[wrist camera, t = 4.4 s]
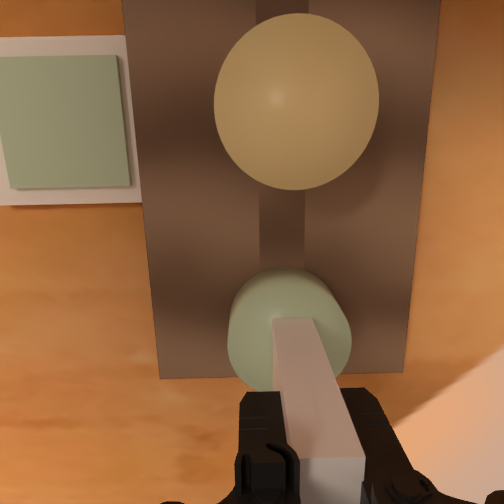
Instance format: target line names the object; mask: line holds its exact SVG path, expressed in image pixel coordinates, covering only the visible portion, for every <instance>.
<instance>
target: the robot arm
mask: <svg viewBox="0 0 504 504" xmlns="http://www.w3.org/2000/svg"><path fill="white" fill-rule="evenodd" d="M272 365H273V390H274V391H263V392H247V393H246V394H245V396H244V397H243V399H242V401H241V402H240V410H239V447H238V453H237V456H236V460H235V463H234V466H235V486H234V488H233V490H232V491H231V492H230V494H229V495H228V496H227V497H226V498H225V499H223V500H222V501H221V502H219V503H217V504H476V503H472V502H468V501H464V500H460V499H457V498H453V497H450V496H447V495H444V494H442V493H441V492H439V491H438V490H437V489H436V487H435V486H434V485H433V484H432V482H431V481H430V480H429V479H428V478H426V477H425V476H424V475H422V474H421V473H420V472H418V471H416V470H414V469H413V467H412V465H411V463H410V462H409V460H408V458H407V456H406V454H405V452H404V450H403V448H402V446H401V444H400V443H399V440H398V438H397V436H396V435H395V433H394V431H393V429H392V427H391V425H390V424H389V421H388V419H387V417H386V415H385V414H384V411H383V409H382V408H381V406H380V404H379V402H378V400H377V398H376V397H374V396H373V395H372V394H371V393H370V392H369V391H368V390H366V389H365V388H339V386H338V384H337V381H336V378H335V376H334V373H333V371H332V368H331V365H330V363H329V360H328V358H327V355H326V352H325V350H324V347H323V345H322V342H321V339H320V337H319V334H318V332H317V329H316V326H315V324H314V321H313V319H312V317H310V318H272ZM161 504H184V503H181V502H175V501H166V502H163V503H161ZM485 504H504V490H498V491H494V492H492V493H491V494H489V495H488V496H487V498H486V501H485Z"/></svg>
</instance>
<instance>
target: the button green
mask: <svg viewBox="0 0 504 504" xmlns="http://www.w3.org/2000/svg"><path fill="white" fill-rule="evenodd" d="M310 317H312V319H313V321H314V324H315V326H316V329H317V332H318V334H319V337H320V339H321V342H322V345H323V347H324V350H325V352H326V355H327V358H328V360H329V363H330V365H331V368H332V371H333V373H334V376H335V378H337V377H338V376H339V374H340V373H341V372H342V370H343V369H344V367H345V365H346V363H347V361H348V359H349V355H350V352H351V345H352V337H351V330H350V327H349V324H348V321H347V319H346V317H345V315H344V313H343V312H342V310H341V308H340V307H339V305H338V303H337V301H336V300H335V298H334V296H333V295H332V293H331V291H330V290H329V288H328V287H327V286H326V285H325V284H324V282H323V281H321V280H320V279H319V278H318V277H316V276H315V275H313V274H311V273H309V272H307V271H305V270H301V269H298V268H292V267H278V268H272V269H268V270H265V271H263V272H261V273H259V274H256V275H255V276H253V277H252V278H250V279H249V280H248V281H247V282H246V283H245V284H244V285H243V286H242V287H241V288H240V289H239V291H238V292H237V294H236V296H235V298H234V300H233V303H232V306H231V311H230V319H229V330H228V342H227V349H228V356H229V359H230V362H231V365H232V367H233V369H234V371H235V372H236V374H237V375H238V376H239V378H240V379H241V380H242V381H243V382H244V383H245V384H246V385H248V386H249V387H250V388H252V389H253V390H255V391H257V392H263V391H274V390H273V365H272V318H310Z"/></svg>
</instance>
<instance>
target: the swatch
mask: <svg viewBox="0 0 504 504" xmlns="http://www.w3.org/2000/svg"><path fill="white" fill-rule="evenodd" d="M137 202H142V197H141V187H140V177H139V167H138V157H137V147H136V138H135V128H134V118H133V108H132V98H131V88H130V78H129V68H128V58H127V48H126V38H125V35H95V36H41V37H0V206H7V205H50V204H94V203H137Z"/></svg>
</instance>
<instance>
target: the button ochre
mask: <svg viewBox="0 0 504 504" xmlns="http://www.w3.org/2000/svg"><path fill="white" fill-rule="evenodd" d="M378 108H379V90H378V82H377V78H376V74H375V70H374V68H373V65H372V62H371V60H370V58H369V56H368V54H367V53H366V51H365V49H364V48H363V47H362V45H361V44H360V43H359V41H358V40H357V39H356V38H355V37H354V36H353V35H352V34H351V33H350V32H349V31H347V30H346V29H345V28H343V27H342V26H341V25H339V24H337V23H335V22H334V21H332V20H329V19H327V18H324V17H321V16H317V15H313V14H304V13H294V14H285V15H281V16H277V17H273V18H271V19H269V20H266V21H264V22H262V23H260V24H259V25H257V26H255V27H253V28H252V29H251V30H250V31H248V32H247V33H246V34H245V35H244V36H243V37H242V38H241V39H240V40H239V41H238V42H237V43H236V44H235V45H234V47H233V48H232V49H231V51H230V52H229V54H228V55H227V57H226V59H225V61H224V63H223V65H222V67H221V70H220V72H219V75H218V79H217V82H216V87H215V94H214V114H215V122H216V126H217V130H218V133H219V136H220V139H221V141H222V143H223V145H224V147H225V149H226V151H227V153H228V154H229V155H230V157H231V158H232V160H233V161H234V162H235V163H236V164H237V165H238V167H239V168H240V169H242V170H243V171H244V172H245V173H246V174H247V175H249V176H250V177H252V178H254V179H255V180H257V181H259V182H261V183H263V184H265V185H268V186H271V187H274V188H279V189H284V190H303V189H309V188H314V187H317V186H320V185H323V184H326V183H328V182H329V181H331V180H333V179H335V178H337V177H338V176H340V175H341V174H343V173H344V172H345V171H346V170H347V169H348V168H350V167H351V166H352V165H353V164H354V163H355V161H356V160H357V159H358V158H359V157H360V155H361V154H362V152H363V151H364V150H365V148H366V146H367V144H368V142H369V140H370V139H371V136H372V133H373V131H374V128H375V124H376V120H377V116H378Z"/></svg>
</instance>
